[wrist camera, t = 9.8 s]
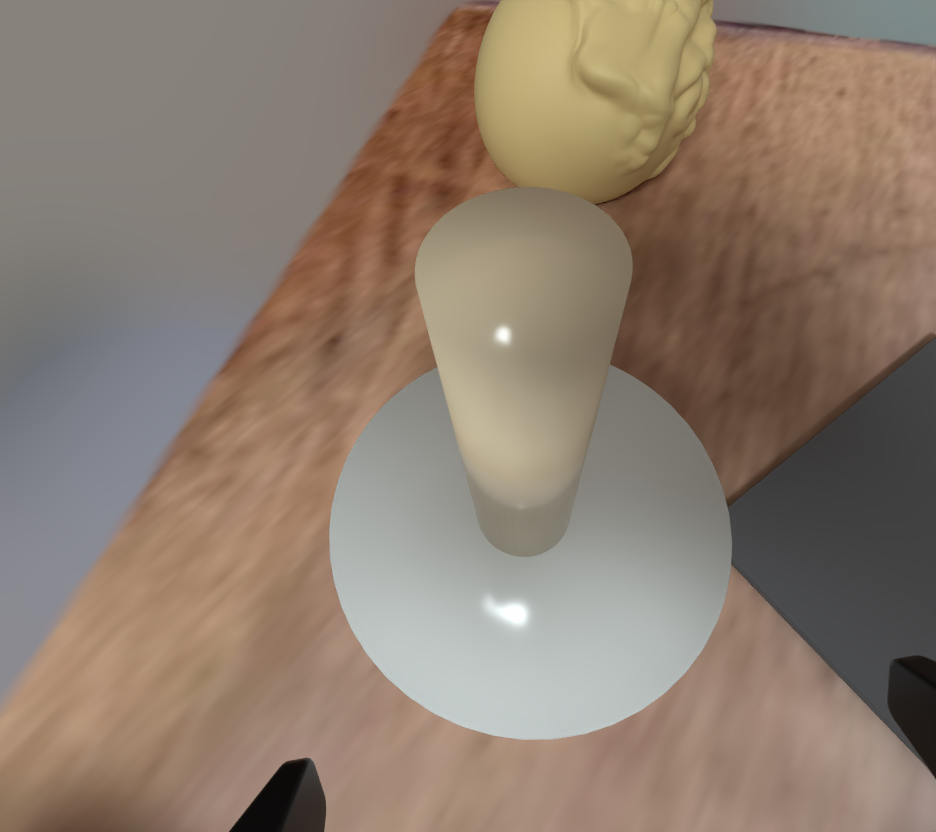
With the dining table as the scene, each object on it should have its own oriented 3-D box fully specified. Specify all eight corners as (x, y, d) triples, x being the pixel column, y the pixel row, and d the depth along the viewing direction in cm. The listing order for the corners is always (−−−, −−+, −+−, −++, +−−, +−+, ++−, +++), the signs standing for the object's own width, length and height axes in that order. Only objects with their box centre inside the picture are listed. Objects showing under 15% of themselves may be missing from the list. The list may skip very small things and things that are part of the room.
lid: (764, 426, 20) (1075, 75, 9) (655, 834, 15) (1075, 1275, 4) (440, 318, 24) (363, -26, 12) (262, 614, 19) (-146, 485, 7)
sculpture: (655, 255, 29) (719, 38, 19) (452, 208, 32) (422, 1, 23) (702, 123, 33) (773, -105, 24) (520, 93, 37) (519, -120, 27)
